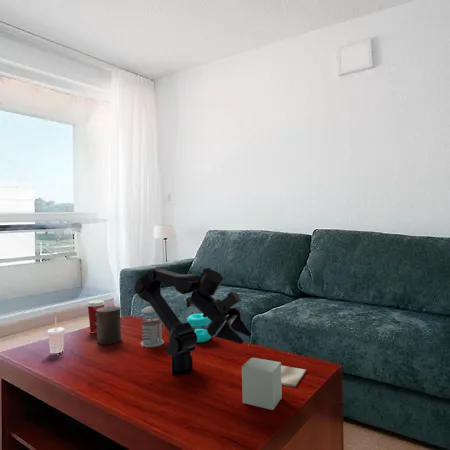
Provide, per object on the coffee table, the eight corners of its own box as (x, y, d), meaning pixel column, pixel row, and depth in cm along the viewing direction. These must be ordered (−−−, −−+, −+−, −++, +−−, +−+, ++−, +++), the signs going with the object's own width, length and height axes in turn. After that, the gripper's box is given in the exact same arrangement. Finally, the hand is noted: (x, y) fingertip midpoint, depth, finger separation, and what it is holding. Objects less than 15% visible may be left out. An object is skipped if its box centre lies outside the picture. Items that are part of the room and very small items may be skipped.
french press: (152, 337, 155) (151, 279, 154) (172, 342, 148) (170, 282, 147) (135, 344, 147) (133, 283, 146) (154, 349, 140) (152, 286, 139)
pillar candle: (116, 344, 147) (116, 308, 147) (93, 345, 147) (92, 308, 147) (123, 337, 156) (123, 302, 156) (101, 337, 156) (101, 303, 156)
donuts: (210, 319, 145) (185, 319, 146) (210, 343, 146) (186, 343, 146) (211, 312, 155) (188, 312, 156) (212, 335, 156) (189, 335, 156)
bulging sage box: (242, 402, 98) (241, 366, 98) (252, 391, 104) (252, 357, 104) (273, 410, 94) (272, 372, 94) (281, 397, 100) (280, 362, 100)
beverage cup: (60, 355, 136) (59, 318, 136) (44, 355, 136) (43, 319, 136) (68, 349, 142) (67, 314, 142) (53, 349, 142) (51, 314, 142)
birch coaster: (258, 379, 112) (257, 377, 112) (271, 365, 122) (271, 363, 122) (295, 387, 106) (295, 385, 106) (305, 371, 117) (305, 369, 117)
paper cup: (100, 334, 160) (99, 303, 160) (84, 334, 161) (83, 303, 161) (109, 329, 168) (108, 299, 167) (94, 328, 169) (93, 299, 169)
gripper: (211, 288, 101) (255, 324, 97) (231, 281, 119) (268, 312, 114) (190, 318, 103) (231, 355, 98) (212, 308, 120) (249, 339, 116)
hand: (246, 338), depth 107 cm, fingers open, 9 cm apart
